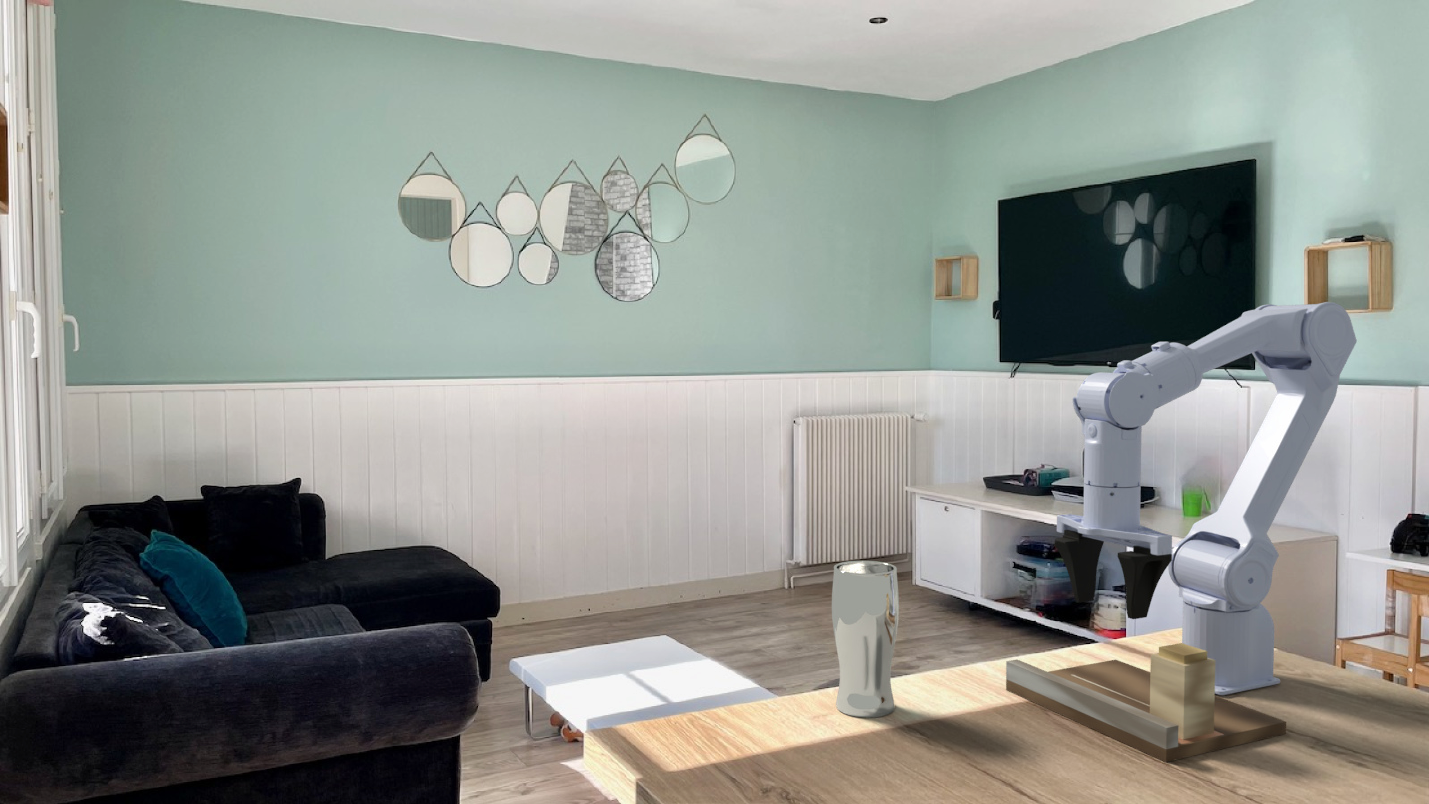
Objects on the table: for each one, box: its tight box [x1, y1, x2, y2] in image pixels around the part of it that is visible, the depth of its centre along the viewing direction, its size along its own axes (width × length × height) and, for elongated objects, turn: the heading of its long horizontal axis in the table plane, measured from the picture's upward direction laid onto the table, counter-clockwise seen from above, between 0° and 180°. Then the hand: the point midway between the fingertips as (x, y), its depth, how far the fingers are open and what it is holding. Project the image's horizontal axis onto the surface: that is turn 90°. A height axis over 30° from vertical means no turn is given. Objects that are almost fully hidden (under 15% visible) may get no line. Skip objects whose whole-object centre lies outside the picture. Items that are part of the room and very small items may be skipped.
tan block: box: [1149, 642, 1216, 740], centre depth 101 cm, size 4×4×8 cm
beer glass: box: [831, 560, 900, 719], centre depth 111 cm, size 7×7×15 cm
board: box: [1005, 659, 1287, 763], centre depth 110 cm, size 16×22×3 cm
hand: (1110, 609), depth 114 cm, fingers open, 7 cm apart
